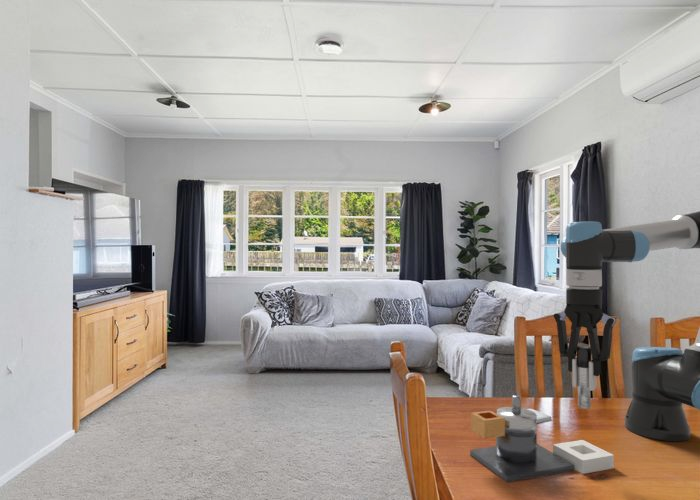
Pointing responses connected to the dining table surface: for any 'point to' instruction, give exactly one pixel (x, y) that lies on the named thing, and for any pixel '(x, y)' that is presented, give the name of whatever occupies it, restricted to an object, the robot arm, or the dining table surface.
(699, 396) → the robot arm
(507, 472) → the dark square base plate
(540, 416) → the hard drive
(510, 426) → the grey and tan piece
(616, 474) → the dining table surface
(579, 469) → the white flat square block
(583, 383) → the black and grey rod
